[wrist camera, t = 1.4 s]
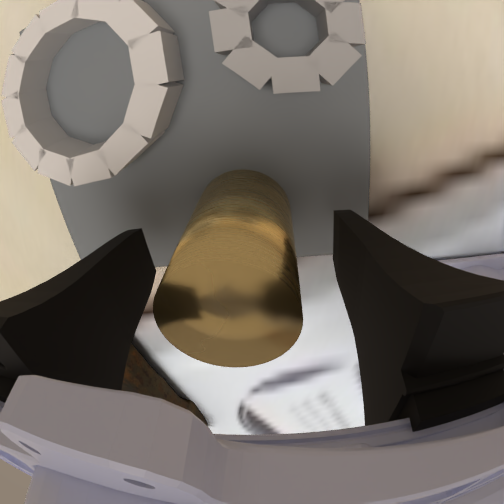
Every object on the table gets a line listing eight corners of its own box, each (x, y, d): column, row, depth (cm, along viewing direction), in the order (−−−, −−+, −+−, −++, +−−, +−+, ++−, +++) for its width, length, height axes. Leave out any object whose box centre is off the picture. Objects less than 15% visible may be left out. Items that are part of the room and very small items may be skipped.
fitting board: (343, -46, 7) (361, -71, 5) (360, 241, 15) (376, 277, 13) (31, 31, 9) (-8, 33, 7) (93, 261, 17) (70, 293, 14)
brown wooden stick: (67, 294, 19) (36, 341, 15) (105, 284, 18) (74, 338, 14) (184, 423, 29) (177, 461, 25) (218, 423, 28) (213, 463, 24)
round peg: (286, 165, 12) (301, 254, 7) (293, 248, 14) (303, 364, 9) (190, 175, 13) (132, 266, 7) (208, 254, 15) (177, 366, 9)
